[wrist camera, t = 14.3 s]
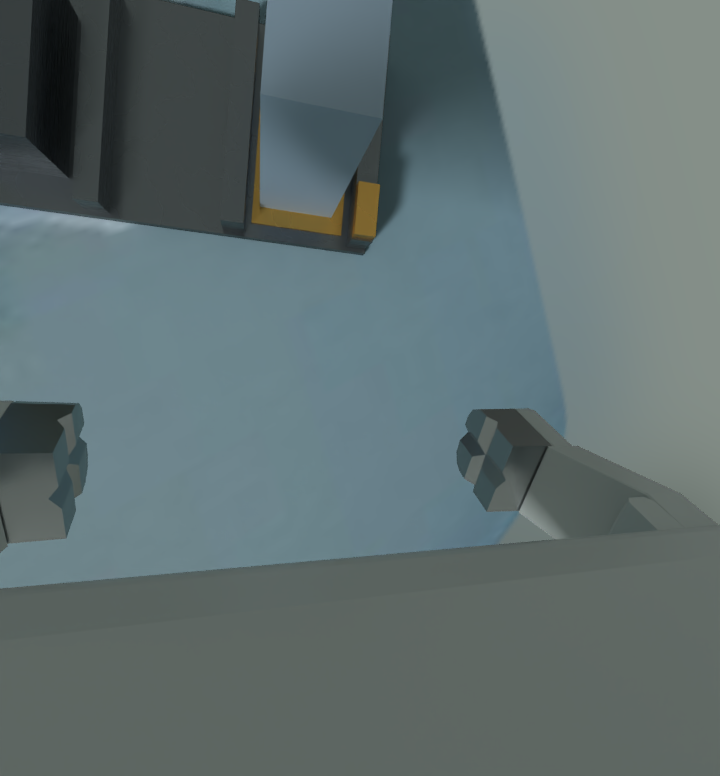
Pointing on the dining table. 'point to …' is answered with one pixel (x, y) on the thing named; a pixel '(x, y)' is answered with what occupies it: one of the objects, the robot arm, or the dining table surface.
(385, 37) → the blue-grey rectangular block
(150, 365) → the dining table surface
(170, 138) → the rack
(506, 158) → the dining table surface
